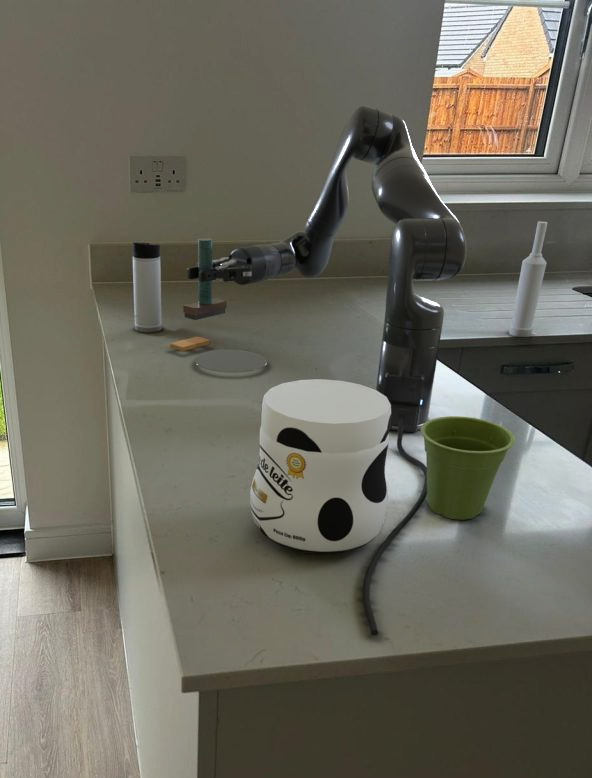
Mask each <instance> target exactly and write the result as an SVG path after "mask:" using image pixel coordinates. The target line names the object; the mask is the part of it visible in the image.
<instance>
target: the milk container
mask: <svg viewBox="0 0 592 778" xmlns="http://www.w3.org/2000/svg"><path fill="white" fill-rule="evenodd" d="M261 402H262V403H261V410H260V429H259V457H258V463H257V467H256V470H255V473H254V475H253V477H252V482H251V486H250V493H249V504H250V511H251V517H252V521H253V522H254V524H255V526H256V528H257V529H258V531H259V532H260V533H261V534H262V535H263V536H264V537H265V538H267V539H268V540H270V541H272V542H274V543H275V544H277V545H279V546H281V547H283V548H286V549H291V550H293V551H296V552H300V553H304V554H306V553H307V554H316V555H330V554H331V555H332V554H343V553H346V552H350V551H353V550H357V549H360V548H363V547H364V546H366V545H368V544H369V543H370V542H372V541H373V540H374V539H375V538H376V537H377V536H378V535H379V533H380V532H381V530H382V527H383V525H384V522H385V519H386V516H387V513H388V507H389V506H388V505H389V493H388V486H387V480H386V473H385V472H386V462H387V461H386V460H387V455H388V449H389V443H390V435H389V434H390V431H391V430H390V426H391V404H390V403H389V401H388V399H387V397H386V396H384V395H383V394H381V393H380V392H378V391H377V390H376V389H374V388H371V387H369V386H365V385H363V384H359V383H355V382H350V381H345V380H337V379H336V380H335V379H323V378H322V379H321V378H319V379H318V378H315V379H298V380H293V381H287V382H282V383H280V384H277V385H275V386H274V387H270V389H268V390H267V392H266V393H265V394H264V395H263V398H262V401H261Z"/></svg>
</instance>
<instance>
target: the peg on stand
mask: <svg viewBox="0 0 592 778" xmlns="http://www.w3.org/2000/svg"><path fill="white" fill-rule="evenodd" d="M197 253H198V254H197V262H198V278H197V284H198V287H197V289H198V290H197V294H198V295H197V298H198V300H197V301H195V302H191V303H187V304H183V305H182V306H183V307H182V312H183V313H184V318H185V319H190V320H193V321H197V320H201V319H206V318H210V317H214V316H219V315H223V314H226V309H227V306H228V305H227V304H228V302H227V300H224V299H220V298H217V297H214V298H213V280H211V281H206V282H200V281H199V271H200V270H204V269H210V268H212V260H213V239H212V238H210V237H209V238H207V237H206V238H205V237H202V238H198V239H197Z"/></svg>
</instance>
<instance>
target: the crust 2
mask: <svg viewBox="0 0 592 778" xmlns="http://www.w3.org/2000/svg"><path fill="white" fill-rule="evenodd" d="M184 340H186V341H189V342H192V343H195V344H196V348H200V347H203V346H207V345H210V344H211V340H210V339H208V338H204V337H202V336H198V335H197V336H193V337H189V338H186V339H185V338H184Z"/></svg>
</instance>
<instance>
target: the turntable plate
mask: <svg viewBox="0 0 592 778" xmlns="http://www.w3.org/2000/svg"><path fill="white" fill-rule="evenodd" d="M194 363H195V364H196V365H197V366H198V367H200V368H203V369H205V370H209V371H213V372H221V373H245V372H252V371H256V370H259V369H262V368H264V367H265V366H266V365H267V364H268V359H267V357H265V356H264V355H262V354H259V353H257V352H253V351H249V350H242V349H216V350H210V351H205V352H202V353H200V354H198V355H197V356H195V358H194Z"/></svg>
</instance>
